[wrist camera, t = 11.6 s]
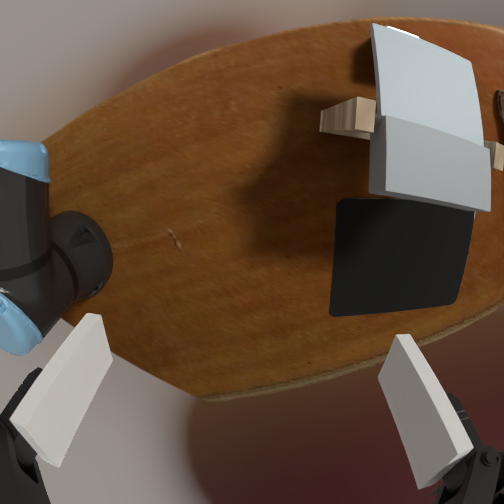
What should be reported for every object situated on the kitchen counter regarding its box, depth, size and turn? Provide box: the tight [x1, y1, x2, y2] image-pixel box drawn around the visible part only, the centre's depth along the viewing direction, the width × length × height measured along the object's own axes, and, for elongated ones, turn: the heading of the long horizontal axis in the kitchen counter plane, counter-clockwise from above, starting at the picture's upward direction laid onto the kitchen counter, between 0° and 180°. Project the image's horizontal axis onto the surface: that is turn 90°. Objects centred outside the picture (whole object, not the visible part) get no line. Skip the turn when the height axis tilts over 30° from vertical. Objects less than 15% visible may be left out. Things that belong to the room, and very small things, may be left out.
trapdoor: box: [369, 23, 491, 212], centre depth 24 cm, size 19×16×4 cm
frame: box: [319, 97, 504, 171], centre depth 29 cm, size 20×3×15 cm, turn 86°
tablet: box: [329, 198, 475, 317], centre depth 43 cm, size 27×1×20 cm
